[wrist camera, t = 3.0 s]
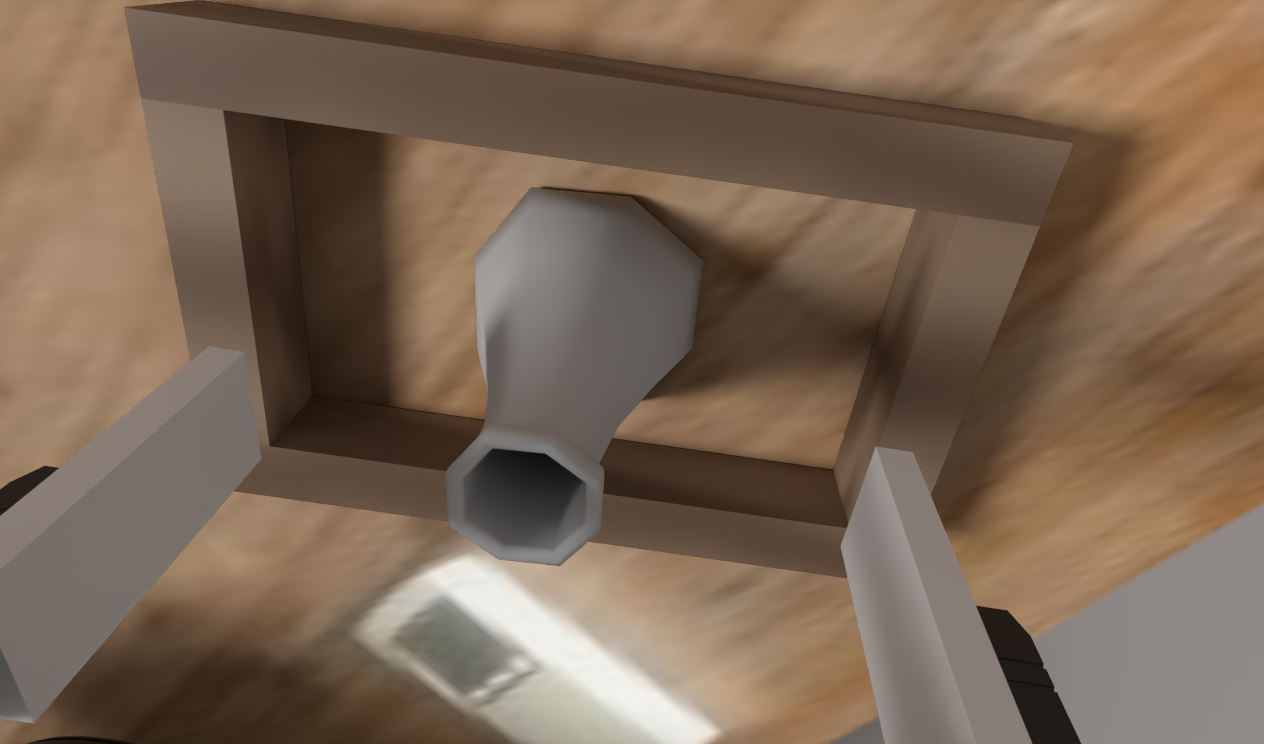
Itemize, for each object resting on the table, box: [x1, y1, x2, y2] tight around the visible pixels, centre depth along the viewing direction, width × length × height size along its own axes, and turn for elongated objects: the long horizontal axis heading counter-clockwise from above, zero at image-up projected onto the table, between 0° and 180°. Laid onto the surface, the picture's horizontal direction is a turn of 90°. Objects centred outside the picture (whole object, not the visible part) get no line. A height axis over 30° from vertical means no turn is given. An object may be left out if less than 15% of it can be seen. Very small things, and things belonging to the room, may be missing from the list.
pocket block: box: [124, 0, 1074, 578], centre depth 22 cm, size 14×22×3 cm, turn 83°
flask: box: [445, 187, 704, 566], centre depth 19 cm, size 7×7×10 cm
